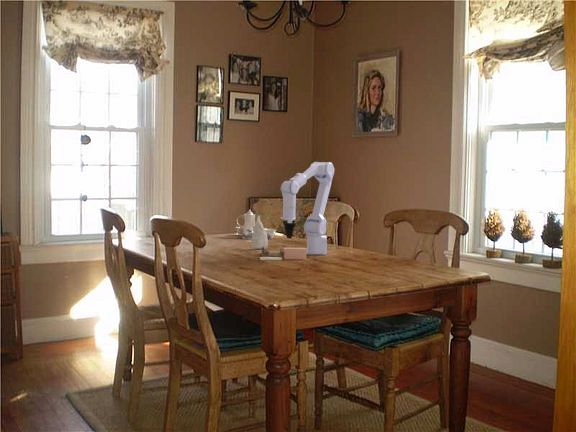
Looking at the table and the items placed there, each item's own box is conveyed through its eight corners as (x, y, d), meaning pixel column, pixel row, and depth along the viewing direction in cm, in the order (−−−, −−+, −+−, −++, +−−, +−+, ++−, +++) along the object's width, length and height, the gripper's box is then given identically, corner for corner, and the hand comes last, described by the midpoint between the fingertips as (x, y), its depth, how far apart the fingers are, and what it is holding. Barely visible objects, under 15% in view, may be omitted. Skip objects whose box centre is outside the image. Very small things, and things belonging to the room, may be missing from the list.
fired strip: (282, 259, 314) (282, 257, 314) (282, 261, 311) (282, 258, 311) (260, 259, 314) (260, 256, 314) (260, 260, 310) (260, 258, 310)
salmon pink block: (305, 258, 316) (306, 247, 316) (306, 259, 313) (306, 248, 312) (284, 258, 316) (284, 247, 316) (284, 259, 313) (284, 248, 312)
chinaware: (280, 240, 388) (282, 211, 388) (268, 241, 373) (269, 210, 373) (237, 237, 400) (238, 209, 400) (222, 237, 385) (224, 208, 385)
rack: (286, 254, 327) (286, 247, 327) (287, 257, 318) (288, 250, 318) (261, 254, 326) (261, 247, 326) (261, 257, 317) (261, 249, 317)
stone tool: (252, 250, 339) (252, 219, 338) (250, 249, 342) (250, 219, 341) (268, 249, 342) (269, 219, 341) (266, 248, 345) (267, 218, 344)
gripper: (279, 206, 322) (279, 235, 323) (281, 208, 307) (280, 239, 309) (295, 206, 322) (294, 235, 323) (296, 209, 308) (296, 239, 309)
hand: (288, 237), depth 316 cm, fingers open, 7 cm apart
